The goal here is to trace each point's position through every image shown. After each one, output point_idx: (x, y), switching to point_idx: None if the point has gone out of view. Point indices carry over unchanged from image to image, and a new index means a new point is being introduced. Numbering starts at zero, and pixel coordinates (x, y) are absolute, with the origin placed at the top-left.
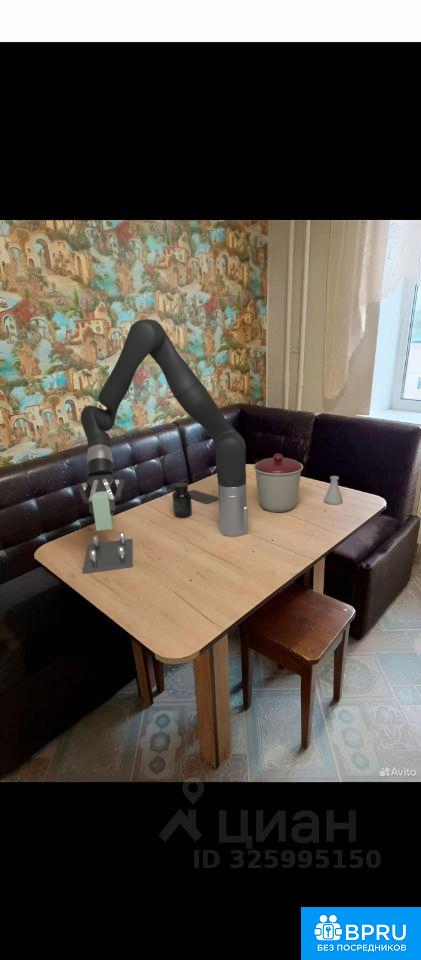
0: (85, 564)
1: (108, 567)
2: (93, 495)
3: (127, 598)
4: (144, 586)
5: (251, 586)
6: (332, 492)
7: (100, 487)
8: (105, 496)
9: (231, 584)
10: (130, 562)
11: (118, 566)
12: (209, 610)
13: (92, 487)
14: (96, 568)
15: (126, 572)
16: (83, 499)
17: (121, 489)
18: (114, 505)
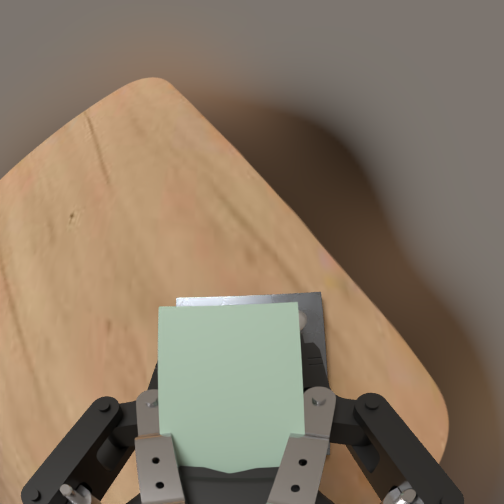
0: (319, 323)
1: (247, 296)
2: (294, 389)
3: (198, 175)
4: (159, 209)
5: (12, 187)
6: None
7: (232, 497)
8: (179, 332)
9: (27, 195)
10: (181, 304)
11: (217, 298)
12: (80, 138)
13: (314, 485)
14: (282, 294)
15: (197, 277)
16: (377, 397)
17: (65, 440)
18: (155, 371)
